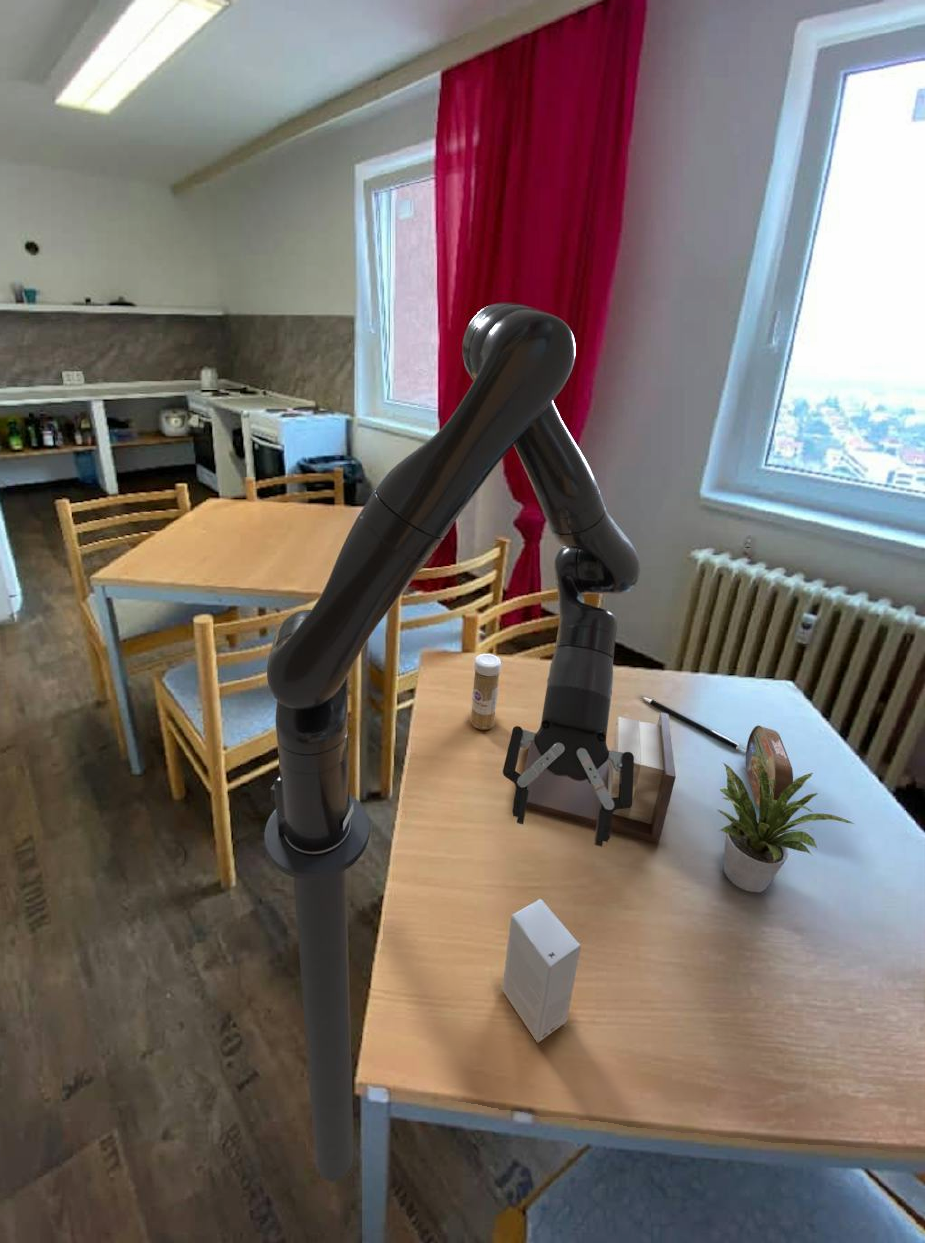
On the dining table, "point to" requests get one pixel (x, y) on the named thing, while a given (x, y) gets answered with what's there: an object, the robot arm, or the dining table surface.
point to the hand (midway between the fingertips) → (558, 834)
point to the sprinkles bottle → (485, 691)
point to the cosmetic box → (540, 969)
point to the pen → (697, 725)
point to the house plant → (763, 830)
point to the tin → (768, 761)
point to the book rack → (616, 782)
